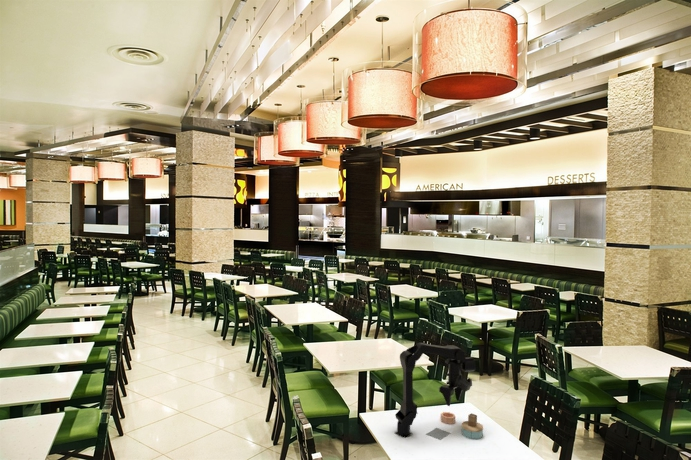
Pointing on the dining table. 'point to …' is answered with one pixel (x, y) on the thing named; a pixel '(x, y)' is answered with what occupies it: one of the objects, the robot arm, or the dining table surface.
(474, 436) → the bowl
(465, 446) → the dining table surface
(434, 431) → the mat
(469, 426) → the lid
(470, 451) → the dining table surface
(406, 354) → the robot arm
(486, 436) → the dining table surface
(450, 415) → the small bowl
